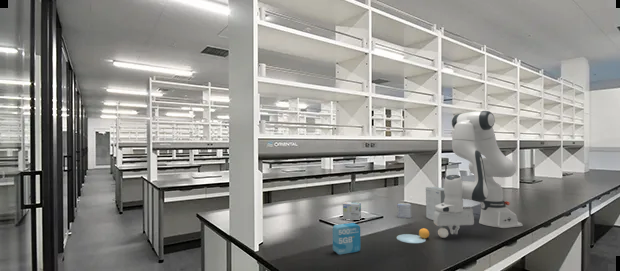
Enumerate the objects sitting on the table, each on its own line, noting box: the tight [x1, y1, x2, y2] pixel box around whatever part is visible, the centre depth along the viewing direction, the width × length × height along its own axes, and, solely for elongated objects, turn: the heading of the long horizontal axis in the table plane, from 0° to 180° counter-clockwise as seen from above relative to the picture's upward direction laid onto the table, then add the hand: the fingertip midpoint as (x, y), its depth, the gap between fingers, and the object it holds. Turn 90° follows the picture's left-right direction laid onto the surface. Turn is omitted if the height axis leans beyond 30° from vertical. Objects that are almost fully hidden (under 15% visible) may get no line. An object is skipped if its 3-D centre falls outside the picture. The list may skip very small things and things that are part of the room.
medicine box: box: [397, 202, 412, 219], centre depth 199 cm, size 8×4×9 cm, turn 84°
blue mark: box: [396, 233, 427, 244], centre depth 155 cm, size 14×14×1 cm
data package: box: [332, 222, 361, 256], centre depth 138 cm, size 12×4×12 cm, turn 112°
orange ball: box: [418, 227, 430, 239], centre depth 156 cm, size 5×5×5 cm
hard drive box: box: [425, 186, 445, 221], centre depth 191 cm, size 16×8×20 cm, turn 13°
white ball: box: [437, 227, 449, 239], centre depth 157 cm, size 5×5×5 cm
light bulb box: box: [342, 201, 362, 221], centre depth 194 cm, size 11×7×11 cm, turn 71°
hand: (454, 233), depth 157 cm, fingers closed
